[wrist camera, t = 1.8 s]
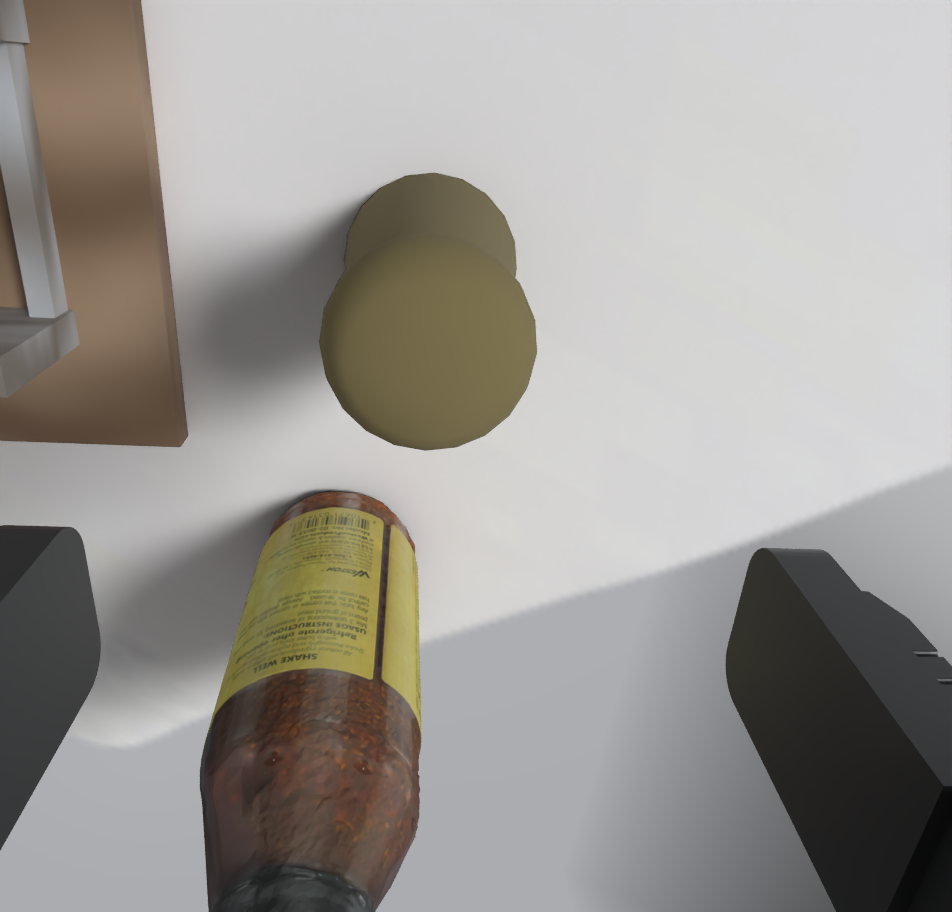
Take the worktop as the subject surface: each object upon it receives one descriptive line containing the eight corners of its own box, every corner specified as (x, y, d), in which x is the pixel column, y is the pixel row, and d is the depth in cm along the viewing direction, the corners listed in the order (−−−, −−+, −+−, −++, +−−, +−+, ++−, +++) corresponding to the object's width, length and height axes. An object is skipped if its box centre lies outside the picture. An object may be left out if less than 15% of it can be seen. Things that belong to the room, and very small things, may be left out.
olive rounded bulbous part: (322, 312, 27) (259, 440, 18) (376, 143, 25) (338, 182, 15) (478, 369, 29) (501, 519, 19) (544, 213, 26) (609, 291, 16)
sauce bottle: (237, 556, 32) (-17, 1164, 14) (330, 453, 30) (176, 1001, 12) (362, 637, 34) (282, 1254, 16) (456, 545, 32) (484, 1128, 14)
